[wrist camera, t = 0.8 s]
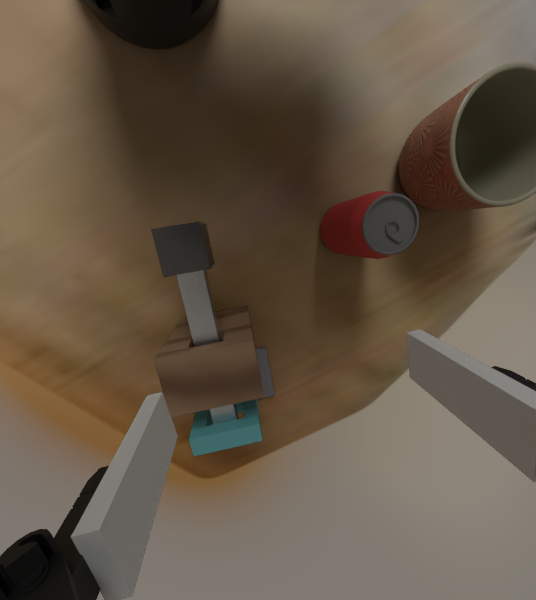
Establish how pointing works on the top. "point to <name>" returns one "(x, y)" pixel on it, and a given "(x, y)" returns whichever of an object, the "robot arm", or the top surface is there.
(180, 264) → the shaft
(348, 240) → the beer can
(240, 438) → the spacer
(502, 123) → the planter
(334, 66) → the top surface
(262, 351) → the pad
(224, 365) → the bearing block
